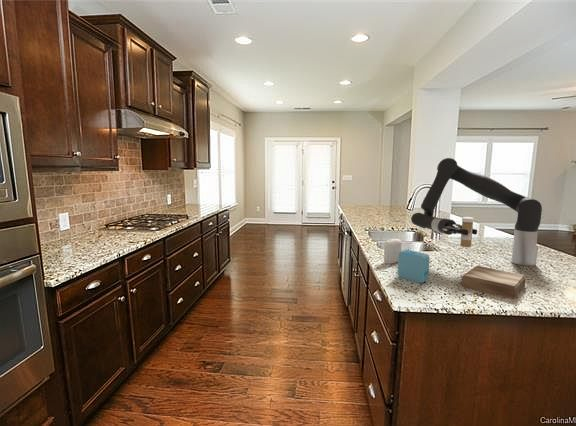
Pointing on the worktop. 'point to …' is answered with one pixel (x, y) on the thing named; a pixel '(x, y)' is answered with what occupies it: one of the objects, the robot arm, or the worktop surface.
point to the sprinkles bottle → (468, 225)
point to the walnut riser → (494, 281)
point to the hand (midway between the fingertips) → (472, 232)
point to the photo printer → (392, 250)
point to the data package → (413, 266)
